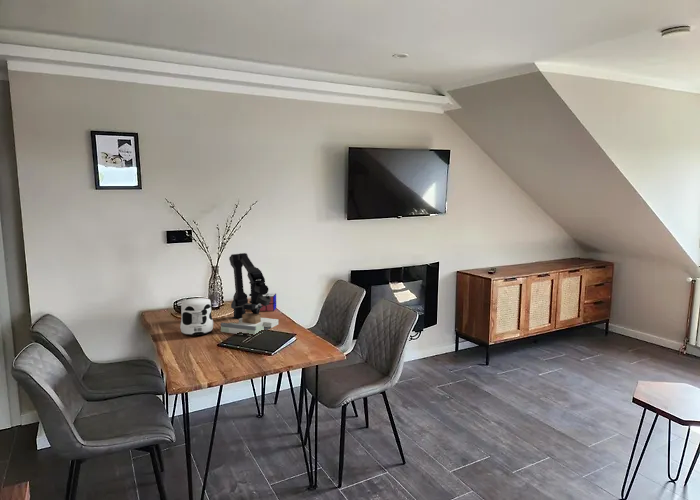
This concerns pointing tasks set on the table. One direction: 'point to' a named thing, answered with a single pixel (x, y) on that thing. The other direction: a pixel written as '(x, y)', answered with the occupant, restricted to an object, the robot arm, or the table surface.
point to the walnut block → (251, 318)
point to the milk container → (196, 316)
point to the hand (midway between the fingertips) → (256, 318)
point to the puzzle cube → (270, 303)
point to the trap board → (248, 326)
